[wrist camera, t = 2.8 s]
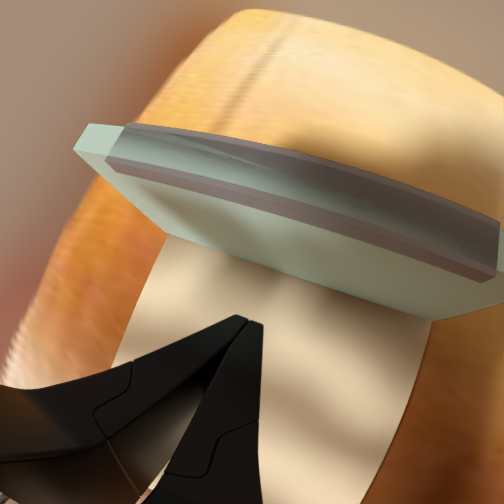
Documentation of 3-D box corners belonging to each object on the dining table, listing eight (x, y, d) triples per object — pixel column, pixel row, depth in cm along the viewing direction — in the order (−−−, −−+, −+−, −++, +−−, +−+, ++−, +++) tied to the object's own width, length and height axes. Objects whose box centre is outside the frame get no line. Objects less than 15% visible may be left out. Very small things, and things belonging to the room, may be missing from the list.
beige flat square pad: (325, 541, 12) (327, 553, 10) (98, 442, 16) (85, 445, 14) (426, 307, 16) (436, 302, 15) (184, 227, 20) (176, 217, 19)
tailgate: (432, 325, 14) (542, 296, 6) (163, 235, 18) (70, 154, 10) (439, 296, 14) (544, 244, 6) (174, 211, 18) (91, 119, 10)
